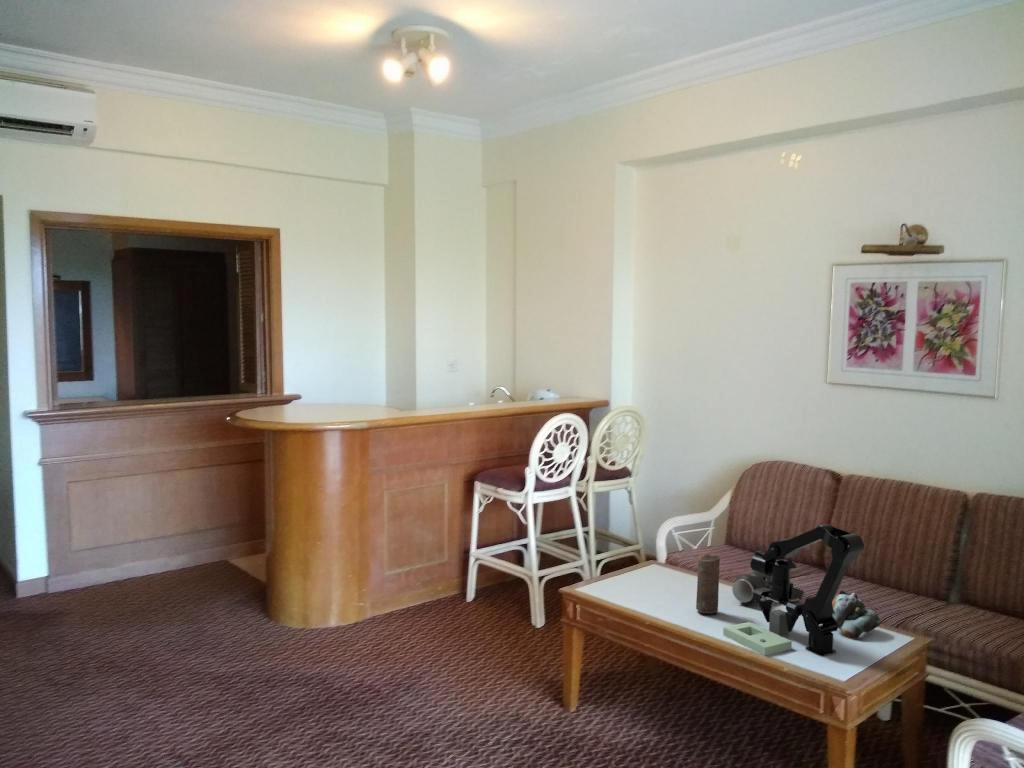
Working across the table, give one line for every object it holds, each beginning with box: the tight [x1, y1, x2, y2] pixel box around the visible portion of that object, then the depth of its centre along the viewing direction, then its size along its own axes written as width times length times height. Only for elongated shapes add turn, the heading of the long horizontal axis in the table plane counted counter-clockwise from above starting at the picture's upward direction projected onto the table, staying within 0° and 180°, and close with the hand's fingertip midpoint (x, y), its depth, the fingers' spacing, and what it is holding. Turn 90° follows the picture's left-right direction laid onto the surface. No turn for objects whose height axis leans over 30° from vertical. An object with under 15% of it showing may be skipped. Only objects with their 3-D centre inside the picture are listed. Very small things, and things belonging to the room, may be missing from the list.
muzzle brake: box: [731, 571, 792, 604], centre depth 293 cm, size 10×28×10 cm, turn 135°
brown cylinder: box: [695, 553, 721, 615], centre depth 276 cm, size 8×7×20 cm
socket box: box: [722, 621, 793, 656], centre depth 251 cm, size 18×11×3 cm, turn 27°
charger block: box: [768, 609, 790, 637], centre depth 258 cm, size 4×4×7 cm
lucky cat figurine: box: [832, 590, 882, 640], centre depth 261 cm, size 15×12×14 cm
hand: (779, 626), depth 258 cm, fingers open, 9 cm apart
